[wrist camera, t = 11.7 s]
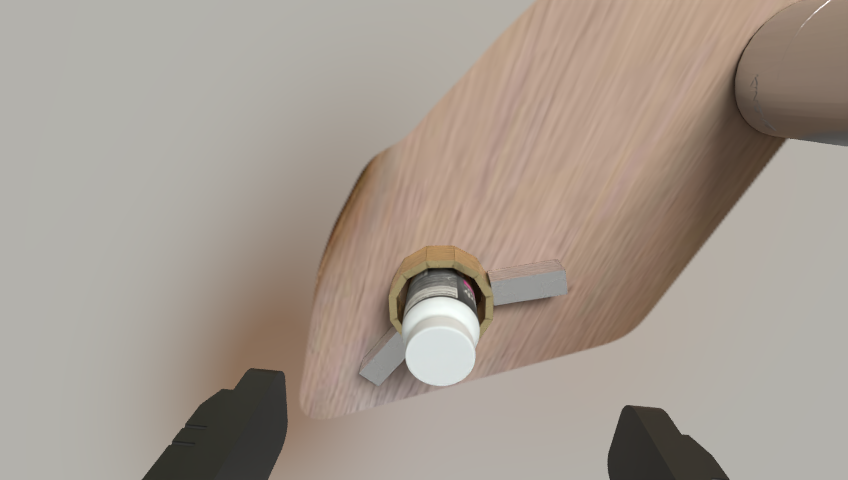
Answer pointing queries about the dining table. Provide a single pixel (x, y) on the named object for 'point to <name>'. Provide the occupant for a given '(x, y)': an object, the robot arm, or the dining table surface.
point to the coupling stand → (495, 289)
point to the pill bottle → (440, 326)
